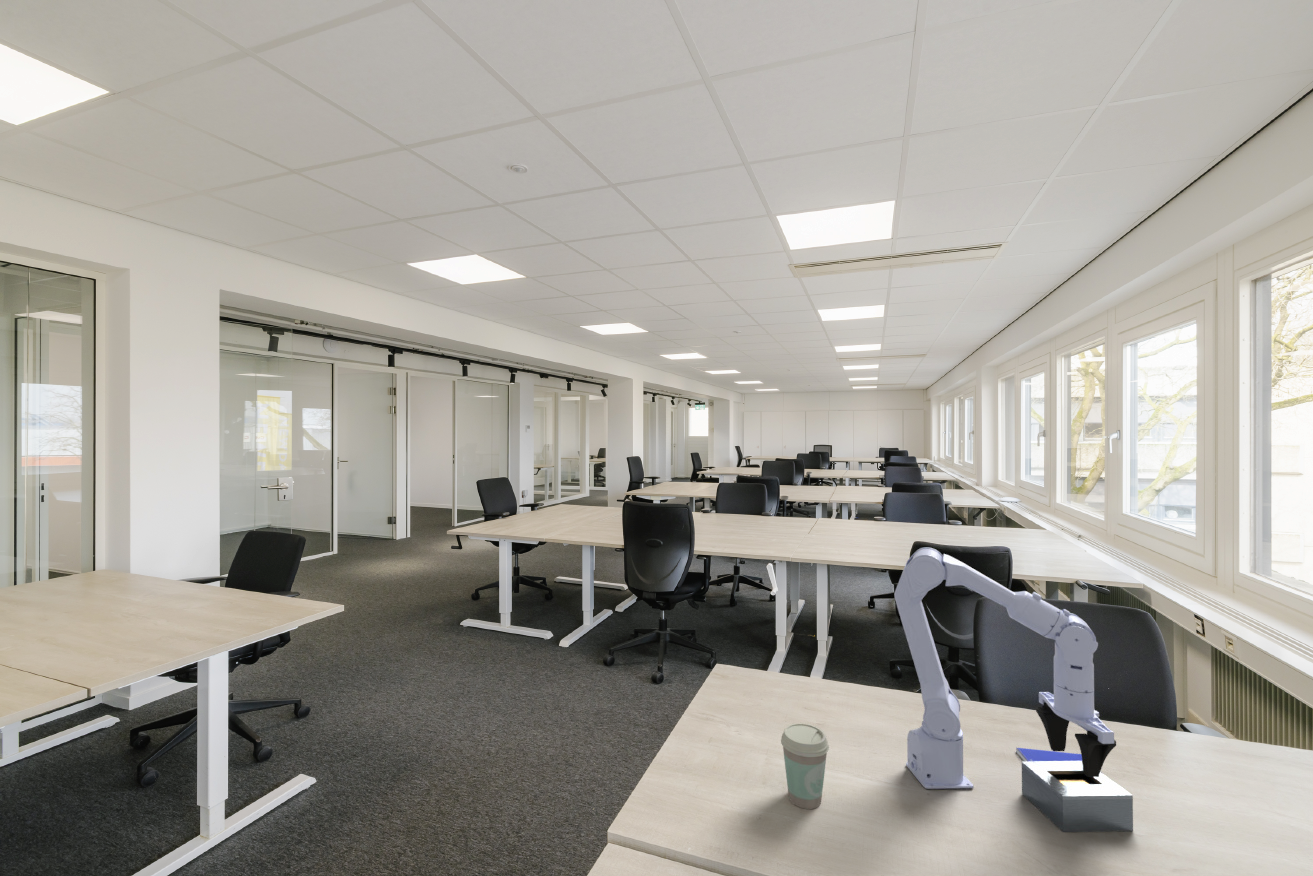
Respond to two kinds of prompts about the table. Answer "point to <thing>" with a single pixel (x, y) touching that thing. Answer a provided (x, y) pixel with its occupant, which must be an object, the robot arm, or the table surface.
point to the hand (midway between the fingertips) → (1074, 762)
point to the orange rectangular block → (1073, 782)
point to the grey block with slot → (1077, 797)
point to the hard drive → (1046, 755)
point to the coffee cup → (804, 763)
